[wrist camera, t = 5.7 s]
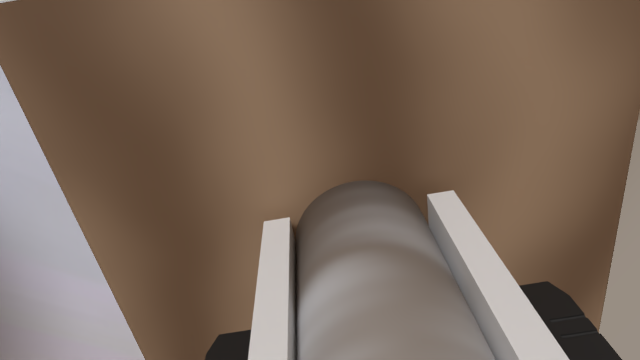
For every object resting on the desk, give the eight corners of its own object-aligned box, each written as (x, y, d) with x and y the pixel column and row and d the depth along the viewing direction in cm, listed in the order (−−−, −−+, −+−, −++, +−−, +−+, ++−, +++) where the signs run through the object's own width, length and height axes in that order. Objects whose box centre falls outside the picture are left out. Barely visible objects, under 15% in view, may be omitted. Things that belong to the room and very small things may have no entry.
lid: (189, 409, 18) (120, 709, 11) (4, 3, 11) (-568, 92, 4) (573, 350, 18) (764, 620, 11) (642, -112, 11) (1415, -268, 3)
